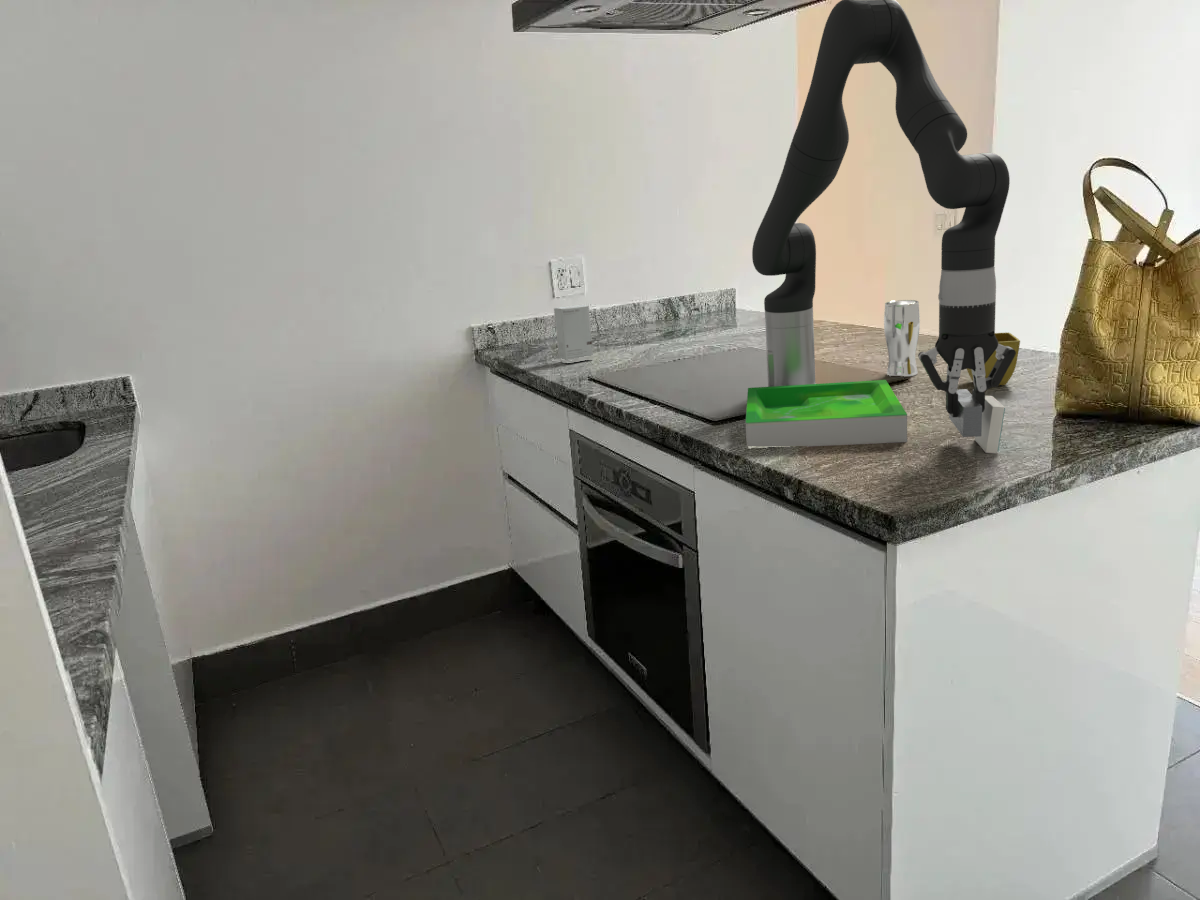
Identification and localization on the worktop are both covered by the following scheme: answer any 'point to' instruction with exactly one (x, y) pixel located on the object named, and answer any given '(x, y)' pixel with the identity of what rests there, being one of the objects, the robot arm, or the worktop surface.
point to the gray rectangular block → (968, 415)
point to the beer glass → (902, 336)
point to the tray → (825, 414)
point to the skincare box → (573, 331)
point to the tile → (991, 425)
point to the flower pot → (1004, 340)
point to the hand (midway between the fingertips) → (965, 415)
